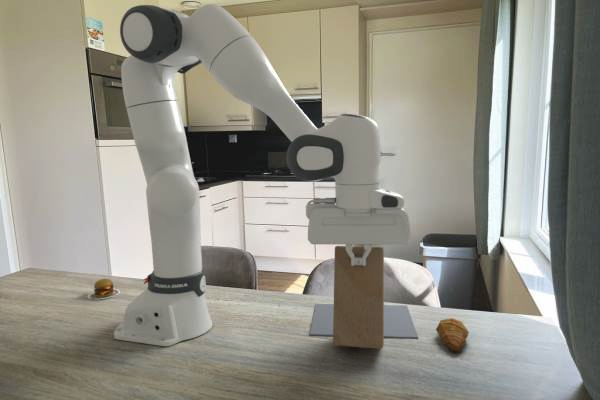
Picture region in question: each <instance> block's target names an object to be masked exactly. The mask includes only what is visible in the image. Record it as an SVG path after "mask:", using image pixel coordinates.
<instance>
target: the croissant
mask: <svg viewBox="0 0 600 400" xmlns="http://www.w3.org/2000/svg"><path fill="white" fill-rule="evenodd" d="M468 330H469V329H467V327H466V326H465V324H464V322H463V321H460V320H458V319H455V318H445V319H440V321H439V322H438V324H437V327H436V329H435V331H436V332H437V334H438V336H439V337H440V339H441V340H442V342H443V344H444V346H445V347H446V348H447V349H448V350H449V351H450V352H452V353H454V354H458V353H460V352H461V351H462V349H463V347H464V345H465V344H466V342H467V340H466V339H467V338H468V337H469V334H470V332H469V331H468Z"/></svg>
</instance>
